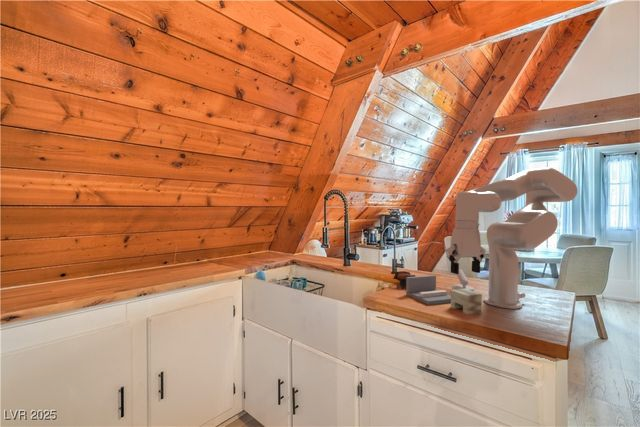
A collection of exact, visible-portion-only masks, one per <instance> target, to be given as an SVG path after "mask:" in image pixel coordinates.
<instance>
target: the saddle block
mask: <svg viewBox="0 0 640 427" xmlns="http://www.w3.org/2000/svg"><path fill="white" fill-rule="evenodd" d="M450 295H451V303H450V308H451V309H462V313H463V314H466V315H472V314H480V313H482V311H483V310H482V307H483V305H482V303H483V300H482V296H483V294H482V293H479V292H477V291H475V290H474V291H471V290H468V289H455V290H452V289H450Z"/></svg>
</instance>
